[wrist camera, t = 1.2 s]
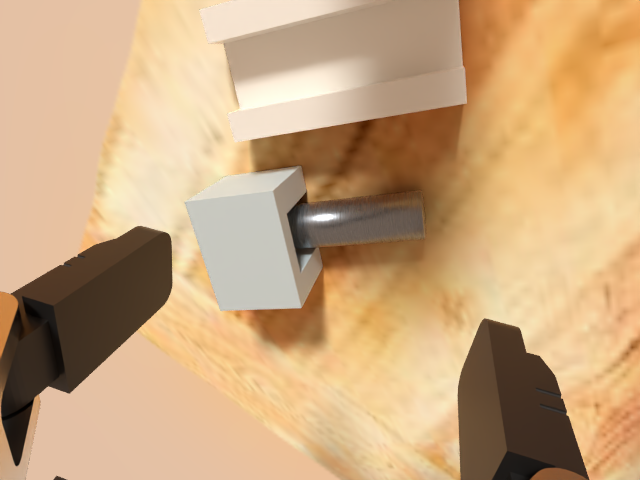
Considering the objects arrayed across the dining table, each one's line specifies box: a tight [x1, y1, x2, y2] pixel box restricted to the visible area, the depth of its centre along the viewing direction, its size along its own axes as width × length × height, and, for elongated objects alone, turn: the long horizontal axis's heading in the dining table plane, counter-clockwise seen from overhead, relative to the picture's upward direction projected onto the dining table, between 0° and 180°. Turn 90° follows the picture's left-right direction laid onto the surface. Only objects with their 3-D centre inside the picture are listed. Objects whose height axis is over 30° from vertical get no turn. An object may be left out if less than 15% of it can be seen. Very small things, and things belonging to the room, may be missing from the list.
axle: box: [287, 190, 426, 249], centre depth 30 cm, size 16×3×3 cm, turn 100°
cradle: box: [199, 0, 467, 142], centre depth 25 cm, size 14×8×3 cm, turn 100°
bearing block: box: [185, 166, 323, 311], centre depth 29 cm, size 6×8×6 cm
